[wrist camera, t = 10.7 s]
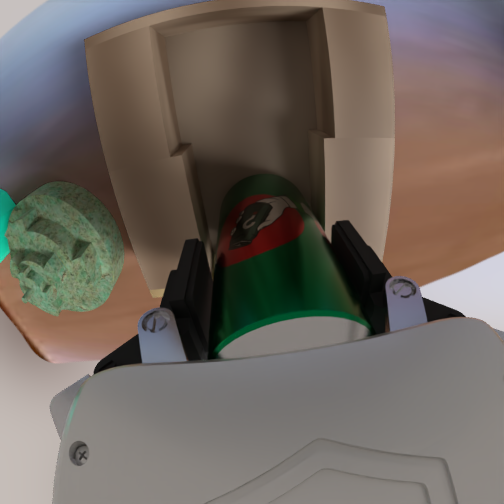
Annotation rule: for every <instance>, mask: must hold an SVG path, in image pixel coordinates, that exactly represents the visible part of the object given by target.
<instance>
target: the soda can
mask: <svg viewBox="0 0 504 504" xmlns="http://www.w3.org/2000/svg"><path fill="white" fill-rule="evenodd" d="M374 335H377V333H376V331H375V329H374V327H373V324H372V322H371V320H370V318H369V316H368V314H367V312H366V310H365V308H364V306H363V304H362V302H361V300H360V298H359V296H358V294H357V292H356V290H355V288H354V286H353V284H352V282H351V280H350V278H349V276H348V274H347V272H346V271H345V269H344V267H343V265H342V263H341V261H340V259H339V257H338V256H337V254H336V252H335V250H334V248H333V247H332V245H331V243H330V241H329V239H328V238H327V236H326V234H325V232H324V231H323V229H322V227H321V225H320V224H319V222H318V220H317V218H316V217H315V215H314V213H313V212H312V210H311V208H310V207H309V205H308V203H307V202H306V200H305V198H304V197H303V195H302V193H301V192H300V191H299V189H298V188H297V187H296V186H295V185H294V184H293V183H292V182H290V181H289V180H287V179H285V178H283V177H281V176H278V175H274V174H256V175H252V176H249V177H246V178H244V179H242V180H240V181H239V182H237V183H236V184H235V185H233V186H232V187H231V189H230V190H229V191H228V192H227V194H226V195H225V197H224V199H223V201H222V204H221V208H220V216H219V226H218V235H217V245H216V255H215V265H214V276H213V287H212V299H211V312H210V325H209V339H208V355H207V360H213V359H226V358H237V357H247V356H256V355H264V354H273V353H280V352H287V351H294V350H301V349H307V348H313V347H319V346H325V345H330V344H336V343H341V342H346V341H351V340H356V339H361V338H365V337H370V336H374Z"/></svg>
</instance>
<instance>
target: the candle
mask: <svg viewBox="0 0 504 504" xmlns="http://www.w3.org/2000/svg"><path fill="white" fill-rule="evenodd" d="M15 206H16V204H15V203H14V202H13V200H12V199H11V198H10V196H9V195H8V193H7V192H6V191H4V190H2V189H0V262H1V261H2V260H3V259H4V258H5V257H6V256H7V255H8V254H9V253H10V250H9V245H8V239H7V238H6V237H5V236H4V235H5V233H6V231H7V228H8V221H9V218H10V215H11V213H12V211H13V209H14V207H15Z"/></svg>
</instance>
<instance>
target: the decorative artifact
mask: <svg viewBox="0 0 504 504" xmlns="http://www.w3.org/2000/svg"><path fill="white" fill-rule="evenodd" d="M4 236H5V237H6V238H7V239H8V245H9V250H10V253H11V261H10V270H11V274H12V277H14V278H18V279H19V281H20V287H21V290H22V292H23V293H24V296H23V297H22V301H23V302H24V303H27V302H30V303H31V304H33V305H36V306H37V307H38V308H40V309H42V310H43V311H45V312H47V313H49V314H52V315H54V316H58V315H59V313H60V312H61V310H62V309H67V310H71V311H89V310H93V309H95V308H97V307H99V306H101V305H102V304H103V303H104V302H105V301H106V300H107V299H108V297H109V295H110V293H111V291H112V289H113V287H114V285H115V283H116V281H117V279H118V277H119V275H120V273H121V270H122V267H123V263H124V246H123V241H122V237H121V234H120V231H119V228H118V226H117V224H116V222H115V220H114V218H113V217H112V215H111V214H110V212H109V211H108V209H107V208H106V207H105V206H104V205H103V203H102V202H101V201H100V200H99V199H98V198H96V197H95V196H94V195H93V194H92V193H90V192H89V191H87V190H86V189H84V188H82V187H80V186H78V185H76V184H73V183H69V182H63V181H55V182H50V183H47V184H44V185H42V186H41V187H39V188H38V189H36V190H35V191H34V192H32V193H31V194H29V195H28V196H27V197H25V198H24V199H23V200H21V201H20V202H19V203H18V204H17V205H16V206H15V207H14V209H13V211H12V213H11V215H10V218H9V221H8V228H7V231H6V233H5V235H4Z"/></svg>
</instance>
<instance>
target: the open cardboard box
mask: <svg viewBox="0 0 504 504" xmlns="http://www.w3.org/2000/svg"><path fill="white" fill-rule="evenodd" d="M84 42H85V53H86V62H87V70H88V77H89V84H90V90H91V96H92V102H93V107H94V113H95V118H96V123H97V127H98V132H99V136H100V141H101V145H102V149H103V153H104V157H105V161H106V165H107V169H108V172H109V176H110V180H111V183H112V186H113V190H114V193H115V197H116V200H117V203H118V206H119V209H120V212H121V215H122V219H123V222H124V224H125V227H126V230H127V233H128V236H129V239H130V242H131V244H132V247H133V250H134V252H135V255H136V258H137V260H138V263H139V265H140V268H141V271H142V273H143V276H144V278H145V280H146V283H147V285H148V288H149V290H150V292H151V295H152V297H153V298H155V297H163V294H164V291H165V287H166V284H167V280H168V277H169V274H170V271H171V270H177V267H178V263H179V260H180V256H181V253H182V249H183V246H184V243H185V240H188V239H195V238H198V239H199V241H203V242H204V246H205V250H206V254H207V258H208V262H209V266H210V271H211V275H212V279H213V276H214V265H215V255H216V245H217V235H218V226H219V216H220V208H221V204H222V201H223V199H224V197H225V195H226V194H227V192H228V191H229V190H230V189H231V187H232V186H233V185H235V184H236V183H237V182H239V181H240V180H242V179H244V178H246V177H249V176H252V175H256V174H274V175H278V176H281V177H283V178H285V179H287V180H289V181H290V182H292V183H293V184H294V185H295V186H296V187H297V188H298V189H299V191H300V192H301V193H302V195H303V197H304V198H305V200H306V202H307V203H308V205H309V207H310V208H311V210H312V212H313V213H314V215H315V217H316V218H317V220H318V222H319V224H320V225H321V227H322V229H323V231H324V232H325V234H326V236H327V238H328V239H329V241H330V243H331V228H332V225H334V224H335V223H336V221H342V220H349V221H350V223H351V224H352V225H353V226H354V228H355V229H356V230H357V232H358V233H359V234H360V236H361V237H362V239H363V240H364V241H365V243H366V244H367V245H368V246H370V247H371V248H372V249H373V250H374V252H375V253H376V255H377V256H378V257H379V259H380V260H381V262H382V259H383V254H384V248H385V241H386V235H387V228H388V220H389V212H390V203H391V193H392V182H393V168H394V146H395V99H394V79H393V66H392V55H391V46H390V38H389V31H388V24H387V18H386V13H385V7H384V6H380V5H375V4H370V3H364V2H359V1H352V0H214V1H207V2H201V3H196V4H191V5H186V6H181V7H177V8H173V9H169V10H165V11H161V12H157V13H154V14H150V15H147V16H144V17H140V18H137V19H134V20H131V21H128V22H126V23H123V24H120V25H117V26H115V27H112V28H110V29H107V30H105V31H102V32H100V33H98V34H95V35H93V36H91V37H89V38H87V39H84Z"/></svg>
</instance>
